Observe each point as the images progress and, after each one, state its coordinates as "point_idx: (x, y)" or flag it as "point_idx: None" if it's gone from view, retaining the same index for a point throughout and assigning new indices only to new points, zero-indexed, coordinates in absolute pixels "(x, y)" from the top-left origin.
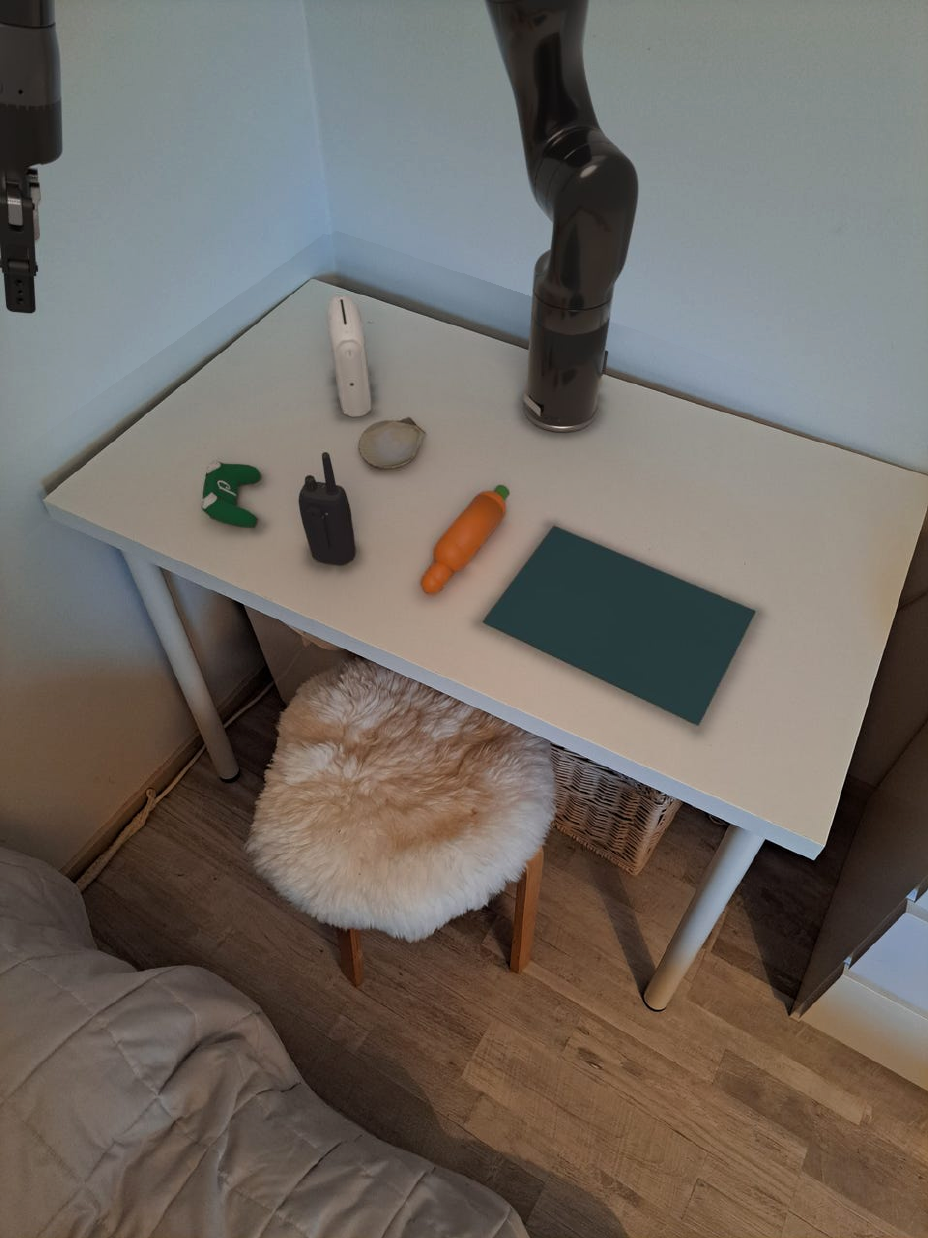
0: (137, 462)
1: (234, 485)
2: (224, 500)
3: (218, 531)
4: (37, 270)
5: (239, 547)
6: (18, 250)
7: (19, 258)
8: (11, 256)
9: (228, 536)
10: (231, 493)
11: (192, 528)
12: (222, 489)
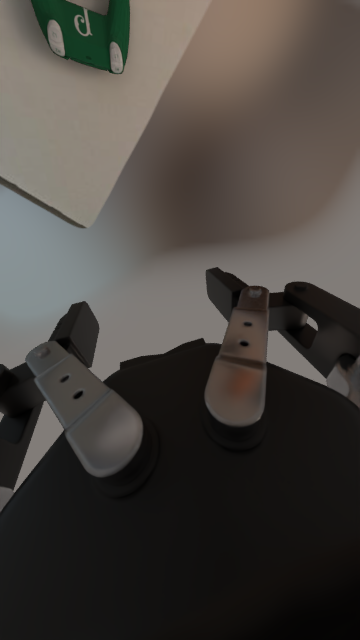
0: (38, 159)
1: (69, 4)
2: (111, 30)
3: None
4: (305, 283)
5: (149, 28)
6: (88, 320)
7: (299, 315)
8: (283, 325)
9: (133, 43)
10: (87, 15)
11: (120, 96)
12: (90, 30)
